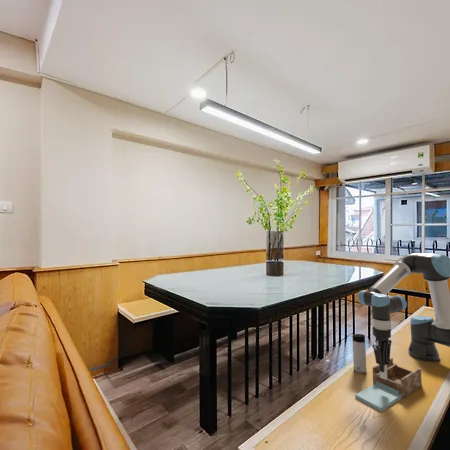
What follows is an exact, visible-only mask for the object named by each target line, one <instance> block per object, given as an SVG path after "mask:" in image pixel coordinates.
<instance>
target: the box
mask: <svg viewBox="0 0 450 450" xmlns="http://www.w3.org/2000/svg"><path fill="white" fill-rule="evenodd" d="M388 363H389V365H388V364H387V379H386V380H385V379H383V378H381V377H380V367H379V364H375V366H372V367H371V368H372V385H373V384H375V383H376V381H378V382H381V383H383V384H385V385H387V386H390V387H392V388H394V389H396V390H398V391H399V394H401V395H402V398H401V399H403V400H404V399H405V398H407V397H408V396H410V395H411V394H412V393H414V392H415V391H417V390H418V389H419V388H421V387H422V385H423V384H422V368H421V367H418V368H416V369H415V370H410V369H407V368H405V367H402V366H399V365H397V363H394V358H393V357H390V361H389V362H388Z"/></svg>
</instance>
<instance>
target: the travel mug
mask: <svg viewBox="0 0 450 450" xmlns="http://www.w3.org/2000/svg"><path fill="white" fill-rule="evenodd" d="M366 350H367V349H366V335H364V334H361V333H356V334H352V353H353V354H352V358H353V359H352V360H353V362H352V363H353V371H354V372H355V373H356V374H360V375H361V374H362V375H363V374H366V373H368V372H367V355H366V354H367V351H366Z"/></svg>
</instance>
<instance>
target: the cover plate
mask: <svg viewBox="0 0 450 450" xmlns="http://www.w3.org/2000/svg"><path fill="white" fill-rule="evenodd" d="M354 398H355V399H357V400H358V401H361V402H362V403H365V404H366V405H368V406H370V407H372V408H373V409H375V410H377V411H379V412H383V411H384V410H386V409H388V408H389V407H390V406H393V405H394V404H395V403H397V402H398V401H400V400H401V399H403V398H402V395H401V394H399V391H398V390H396V389H394V388H392V387H390V386H387V385H385V384H383V383H381V382H378V381H376V383H375V384H373V383H372V385H370V386H367V388H365V389H362V390H360V391H359V392H357V393H355V397H354Z"/></svg>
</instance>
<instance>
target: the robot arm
mask: <svg viewBox="0 0 450 450" xmlns="http://www.w3.org/2000/svg"><path fill="white" fill-rule="evenodd" d="M411 274H419V275H420V274H421V275H422V276H423V279H424V280H425V281H426V282H427V284H428V288H429V289H428V290H429V293H430V298H431V302H432V307H433V311H434V317H435V319H434V317H431V316H425V315H417V316H416V315H415V316H412V317H411V318H410V322H409V325H410V339H411V340H410V343H409V346H408V350H407V351H408V354H409V355H410V356H411V357H413V358H415V359H418V360H422V361H427V362H437V361H439V360H440V353H439V351H438V349H437V347H436V344H438V345H442V346H446V347H448V348H450V289H449V284H448V281H449V280H450V257H449V256H447V255H445V254H441V253H440V254H438V253H425V252H422V253H421V252H414V253H409V254H407V255H404V256H403V257H401V258H399V259H398V260H396V261H395V262H394V263H393V265H392V267H391V268H390V269H389V270H388V271H387V272H386V273H385V274H384V275H382V277H380V279H378V280H377V281H376V282H375V283H374V284H373V285H371V287H370V288H369V289H368V290H366V289H364V290H363V289H362V290H360V291H359V292H358V294H357V300H358V302H359V303H360V304H361V305H364V306H367V307H371V315H372V316H371V320H372V323H371V324H372V336H374V337H375V339H374V340H375V344H372V345H371V346H372V348H373V352H374V358H375V359H374V360H375V363H376V365H378V364H379V367H380V377H381V378H383V379H385V380H386V379H387V364H388V365H389V363H388V362H389V361H390V358H391V346H392V340H391V337H392V332H391V331H392V330H391V329H392V327H391V326H392V325H391V314H393V313H400V312H402V311H405V310H406V308H407V307H408V303H407V302H408V301H407V300H406V299H405V298H404V297H403V296H402V295H398V294H397V295H389V293H390V291H392V290H393V288H394V287H396V286H397V285H398V284H399V283H400V282H401V281H402V280H403V279H404V278H405V277H409V276H410V275H411Z"/></svg>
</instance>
